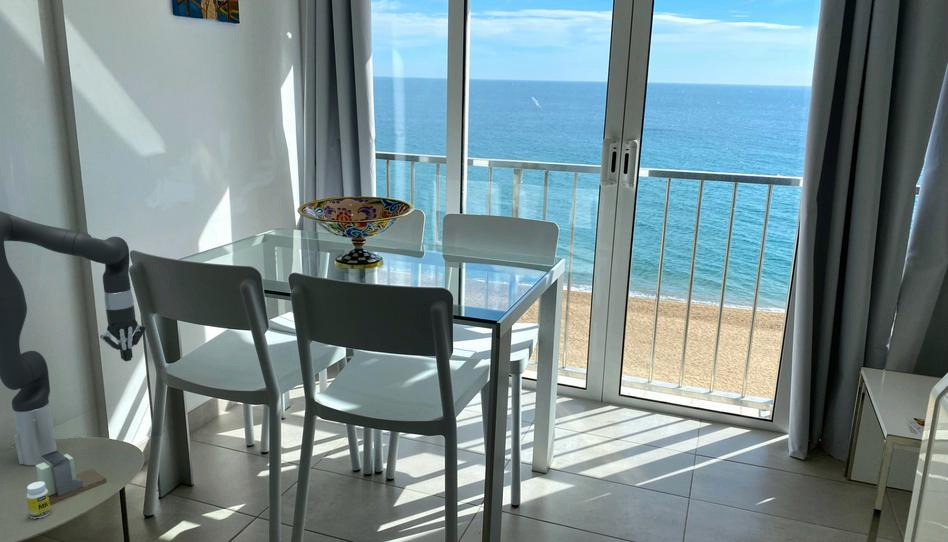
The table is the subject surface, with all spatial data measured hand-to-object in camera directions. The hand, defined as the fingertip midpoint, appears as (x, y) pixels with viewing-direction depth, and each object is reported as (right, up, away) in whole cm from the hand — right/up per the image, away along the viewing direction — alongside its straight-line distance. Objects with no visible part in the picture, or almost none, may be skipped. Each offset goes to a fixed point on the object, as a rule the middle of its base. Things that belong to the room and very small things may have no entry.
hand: (127, 360), depth 211 cm
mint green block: (-10, -33, -18) cm, 39 cm away
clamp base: (-8, -34, -16) cm, 38 cm away
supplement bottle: (-9, -37, -28) cm, 47 cm away
